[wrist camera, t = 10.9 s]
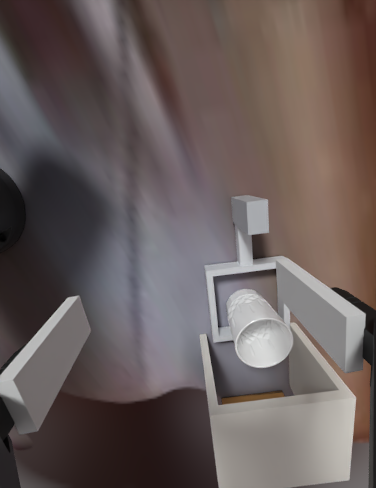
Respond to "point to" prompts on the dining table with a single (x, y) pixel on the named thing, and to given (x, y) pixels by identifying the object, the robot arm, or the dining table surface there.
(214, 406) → the tunnel
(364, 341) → the robot arm
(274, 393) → the frame
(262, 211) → the square frame with handle
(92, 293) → the dining table surface
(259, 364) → the white cup
